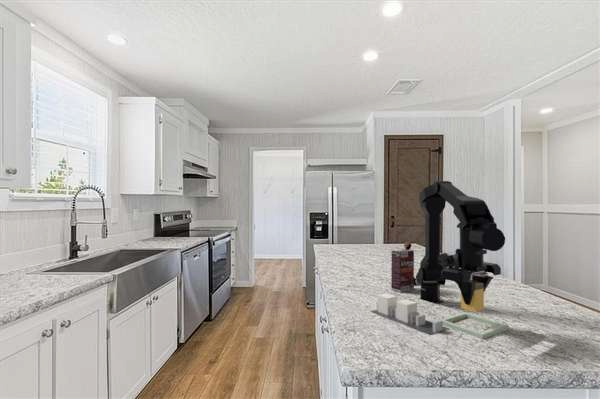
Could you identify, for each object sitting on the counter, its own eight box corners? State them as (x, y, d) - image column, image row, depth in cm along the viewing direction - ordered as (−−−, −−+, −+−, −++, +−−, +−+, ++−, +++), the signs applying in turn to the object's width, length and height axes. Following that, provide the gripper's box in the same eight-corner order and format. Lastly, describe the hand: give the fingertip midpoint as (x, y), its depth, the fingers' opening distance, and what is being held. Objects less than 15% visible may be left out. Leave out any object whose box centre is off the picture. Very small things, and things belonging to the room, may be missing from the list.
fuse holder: (388, 311, 107) (388, 299, 107) (449, 334, 88) (449, 319, 88) (369, 316, 103) (369, 303, 103) (430, 341, 84) (430, 325, 84)
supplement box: (400, 292, 129) (400, 252, 129) (390, 290, 133) (390, 250, 133) (414, 289, 134) (414, 250, 134) (405, 287, 138) (404, 248, 138)
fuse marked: (469, 305, 93) (469, 280, 93) (484, 309, 90) (483, 283, 90) (460, 307, 91) (460, 282, 91) (475, 312, 87) (474, 285, 87)
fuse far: (387, 309, 105) (387, 293, 105) (396, 312, 101) (396, 296, 101) (378, 311, 103) (377, 295, 103) (387, 315, 99) (387, 298, 99)
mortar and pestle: (397, 281, 147) (397, 241, 147) (412, 281, 148) (411, 241, 148) (403, 285, 140) (403, 243, 141) (418, 285, 141) (418, 242, 141)
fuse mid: (406, 316, 98) (405, 299, 98) (417, 320, 95) (416, 302, 95) (396, 318, 96) (396, 301, 96) (407, 322, 93) (407, 305, 93)
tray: (464, 320, 99) (464, 311, 99) (508, 334, 88) (508, 324, 88) (438, 328, 92) (438, 319, 92) (482, 344, 82) (482, 334, 82)
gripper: (463, 240, 102) (464, 291, 102) (424, 245, 92) (424, 301, 92) (501, 244, 93) (502, 300, 92) (461, 249, 83) (462, 312, 83)
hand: (472, 303), depth 90 cm, fingers closed on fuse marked, 4 cm apart
